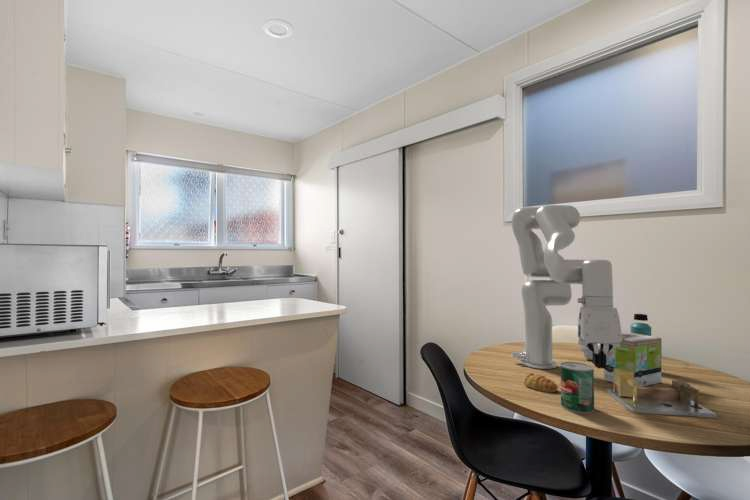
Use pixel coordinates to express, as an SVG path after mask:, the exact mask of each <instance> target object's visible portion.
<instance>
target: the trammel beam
mask: <svg viewBox="0 0 750 500" xmlns="http://www.w3.org/2000/svg"><path fill="white" fill-rule="evenodd" d="M691 393H693V401H694V407H698V404H699V393H700V390H699V389H697V388H695V387H693V386H692V385H691V384H689V383H687V382H685V381H683V380H679V379H678V380H677V379H676V380H675V379H674V380H671V388H670V387H656V386H655V387H654V386H653V387H652V386H642V387H641V386H638V387H637V397H643V398H660V399H677V400H680V401H691V400H692V398H691V397H692V396H691ZM616 394H618V395H619V386H617V385H616Z"/></svg>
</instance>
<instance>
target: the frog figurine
mask: <svg viewBox="0 0 750 500" xmlns="http://www.w3.org/2000/svg"><path fill="white" fill-rule="evenodd" d="M579 349H580V351H581V352H582V353H583V356H584V358H585V359H587V360H588V361H593V353H592V352H591V350H590V349H589V348H588V347H584V346H581V345H579ZM598 349H600V347H598Z"/></svg>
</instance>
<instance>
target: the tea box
mask: <svg viewBox="0 0 750 500" xmlns="http://www.w3.org/2000/svg"><path fill="white" fill-rule="evenodd" d="M662 343H663V342H662V337H658V336H652V335H651V336H647V335H641V334H636V333H631V332H624V333H622V341H621V343H620V347H616V348H612V349H611V350H610V351H609V352H608V354H606V365H605V369H603V370H604V372H603V379H604V381H606V382H610V383H613V384H614V368H621V369H629V370H630V371H632V372H634V381H636V382H638V386H641V387H648V386H650V385H651V386H652V385H655V384H660V383H662V358H663V357H662V346H663V345H662Z"/></svg>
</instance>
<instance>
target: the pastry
mask: <svg viewBox="0 0 750 500" xmlns="http://www.w3.org/2000/svg"><path fill="white" fill-rule="evenodd" d="M523 384H524V385H525V387H527V388H531V389H533V390H534V391H540V392H543V393H551V394H552V393H555V392H557V391H558V389H559V386H558V385H557V384H556V383H555V382H554V381H552V380H551V379H549V378H547V377H546V376H545V375H540V374H535V373H534V372H530V373H527V375H525V378H524V381H523Z"/></svg>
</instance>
